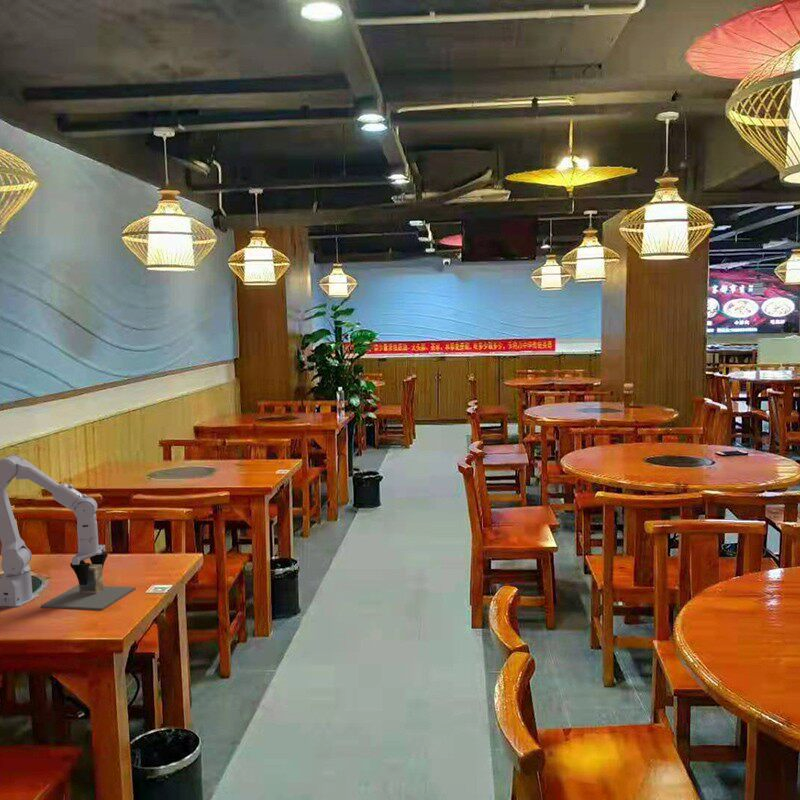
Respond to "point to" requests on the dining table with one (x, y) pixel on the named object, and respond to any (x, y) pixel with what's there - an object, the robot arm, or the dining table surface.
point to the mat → (88, 598)
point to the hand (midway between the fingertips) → (90, 580)
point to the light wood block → (93, 580)
